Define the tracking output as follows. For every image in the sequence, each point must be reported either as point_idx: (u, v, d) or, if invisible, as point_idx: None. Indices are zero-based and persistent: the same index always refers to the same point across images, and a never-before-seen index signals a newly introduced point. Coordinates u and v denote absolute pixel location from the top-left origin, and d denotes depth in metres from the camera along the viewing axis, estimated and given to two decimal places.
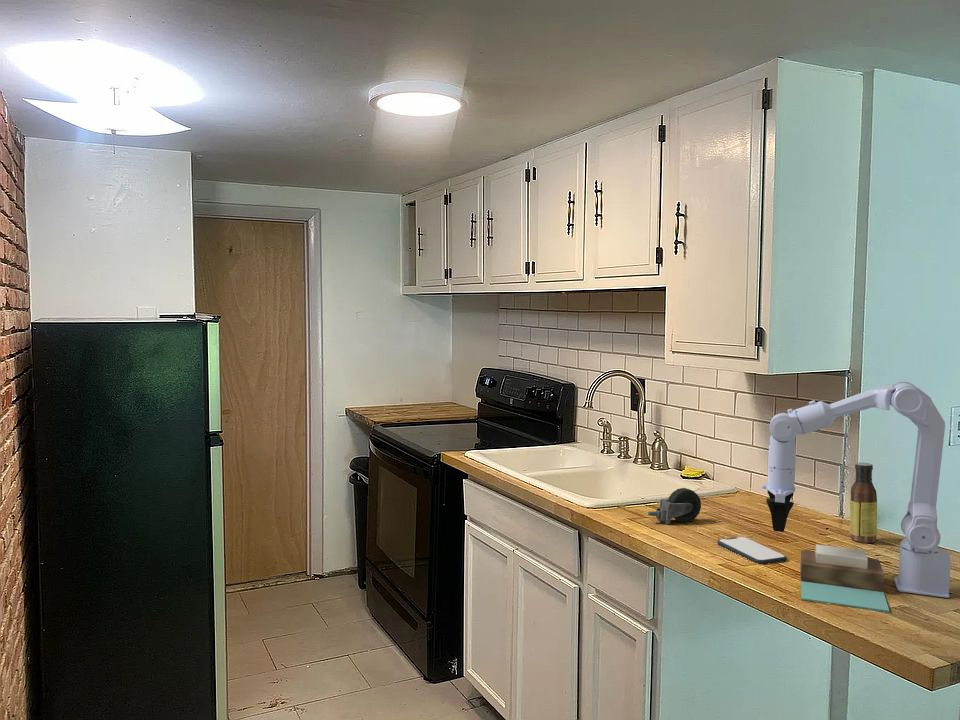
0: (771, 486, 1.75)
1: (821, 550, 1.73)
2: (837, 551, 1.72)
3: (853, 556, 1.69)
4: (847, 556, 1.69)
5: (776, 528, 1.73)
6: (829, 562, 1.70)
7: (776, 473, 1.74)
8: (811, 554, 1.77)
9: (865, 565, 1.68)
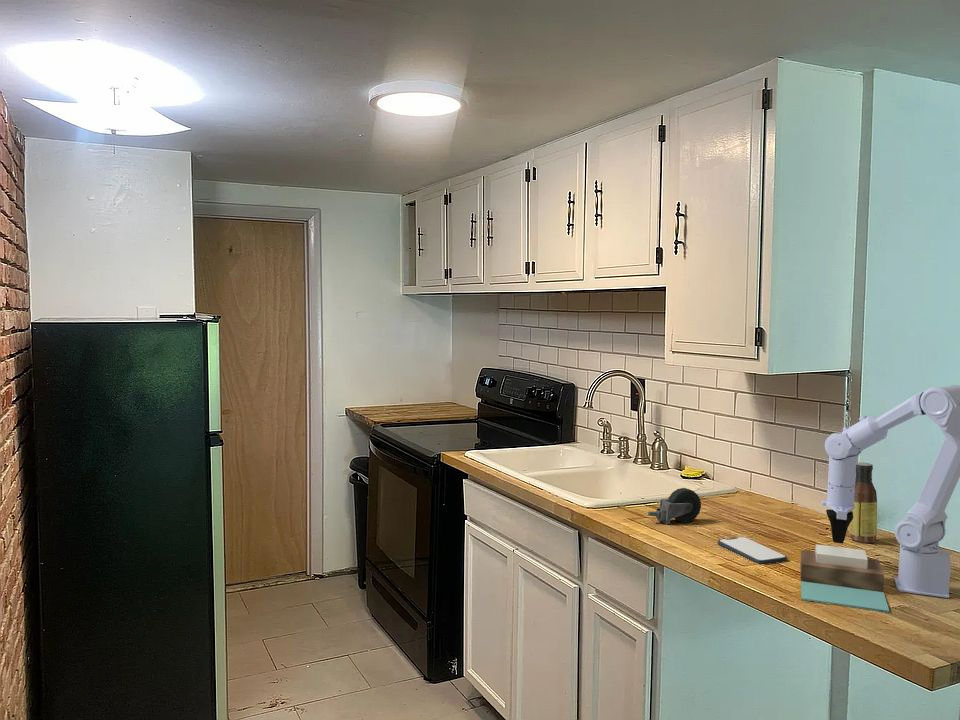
0: (831, 503, 1.80)
1: (821, 550, 1.73)
2: (837, 551, 1.72)
3: (853, 556, 1.69)
4: (847, 556, 1.69)
5: (836, 540, 1.81)
6: (829, 562, 1.70)
7: (837, 491, 1.79)
8: (811, 554, 1.77)
9: (865, 565, 1.68)
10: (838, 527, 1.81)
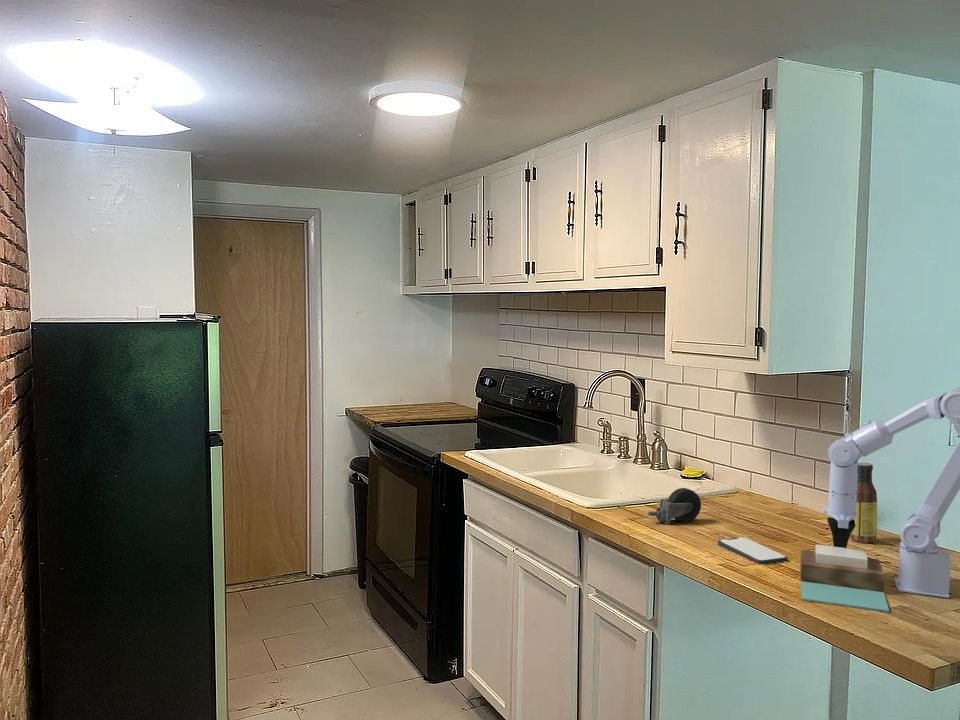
0: (832, 511, 1.75)
1: (821, 550, 1.73)
2: (837, 551, 1.72)
3: (853, 556, 1.69)
4: (847, 556, 1.69)
5: None
6: (829, 562, 1.70)
7: (838, 498, 1.74)
8: (811, 554, 1.77)
9: (865, 565, 1.68)
10: (840, 536, 1.76)
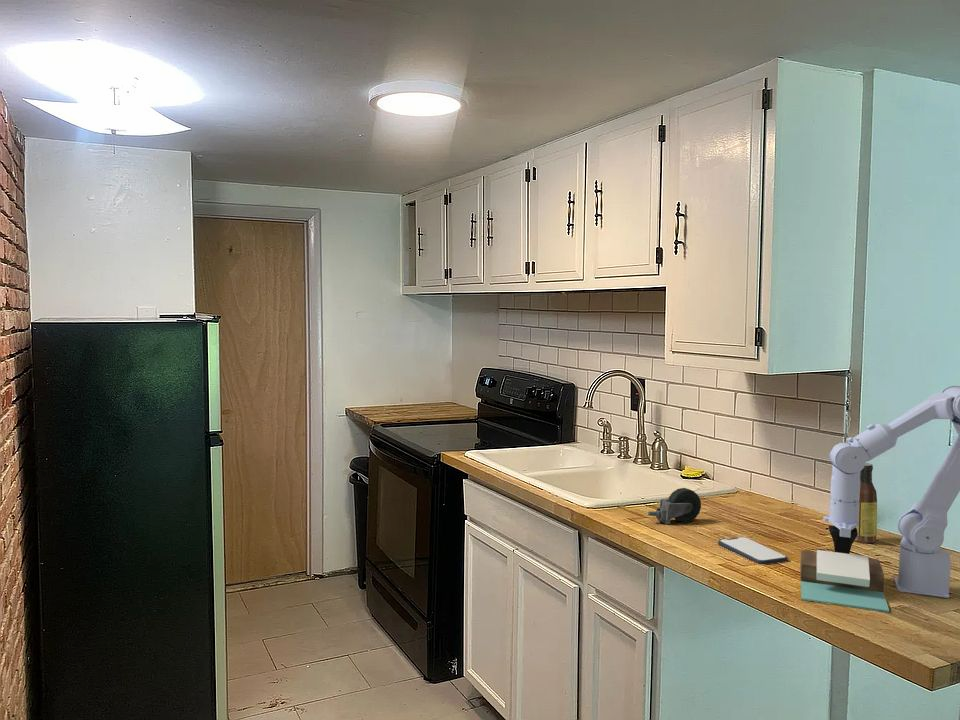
0: (834, 519, 1.68)
1: (822, 563, 1.67)
2: (839, 565, 1.66)
3: (855, 573, 1.63)
4: (848, 574, 1.63)
5: None
6: (830, 580, 1.64)
7: (840, 506, 1.67)
8: (811, 554, 1.77)
9: (867, 584, 1.62)
10: (841, 545, 1.69)
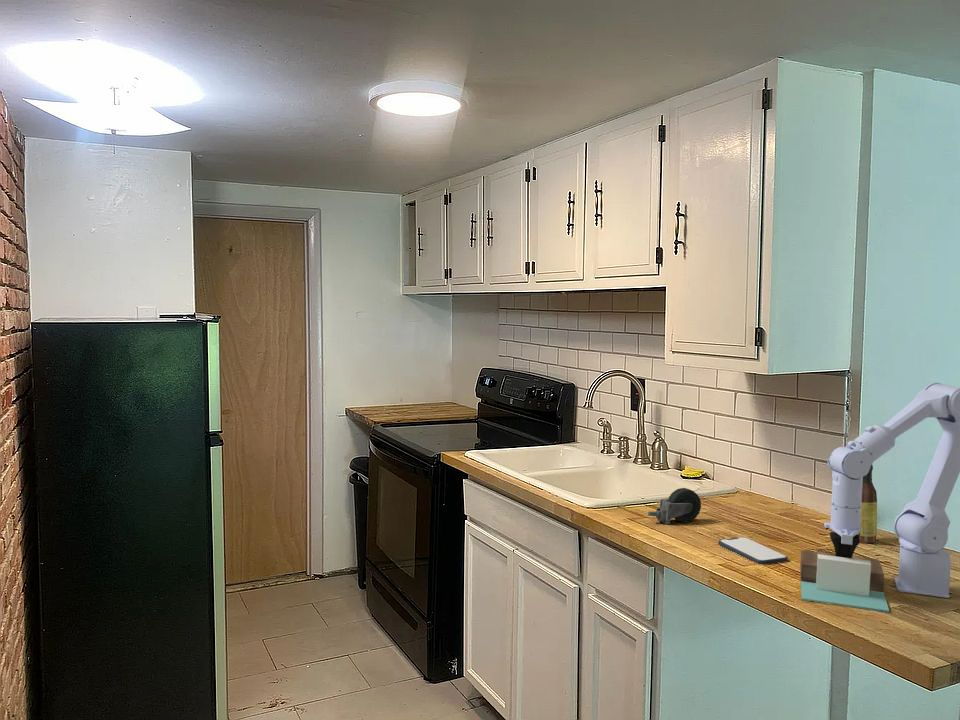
0: (835, 525, 1.63)
1: (822, 577, 1.64)
2: (839, 578, 1.63)
3: (854, 589, 1.62)
4: (848, 590, 1.63)
5: None
6: None
7: (841, 512, 1.62)
8: (811, 554, 1.77)
9: None
10: (843, 552, 1.64)
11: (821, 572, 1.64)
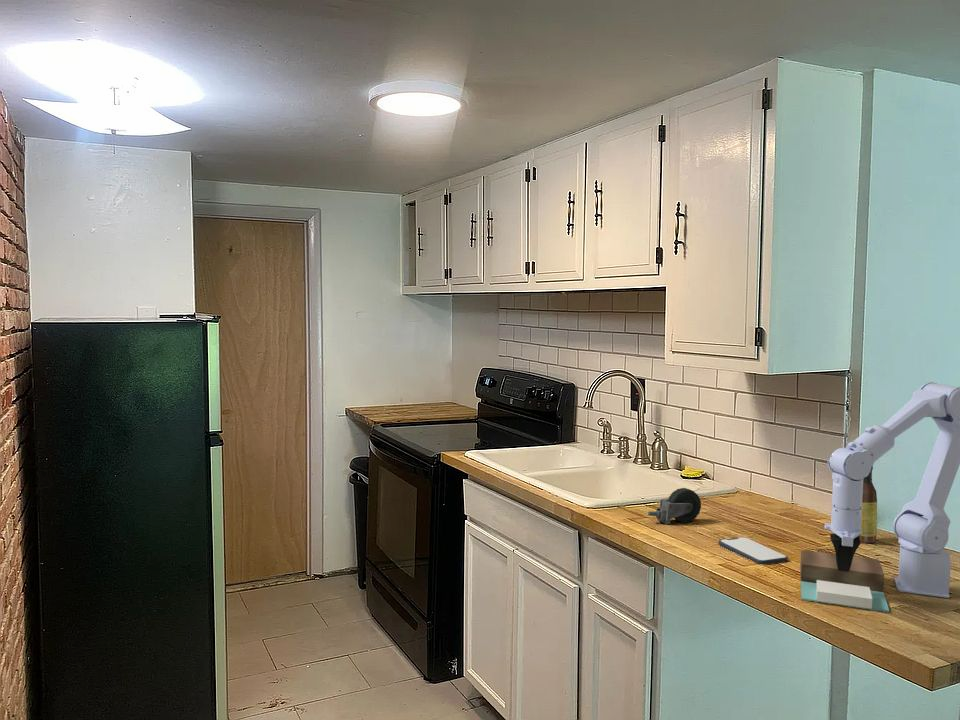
0: (836, 527, 1.62)
1: None
2: None
3: None
4: None
5: (841, 568, 1.64)
6: None
7: (842, 514, 1.61)
8: (811, 554, 1.77)
9: None
10: (843, 554, 1.63)
11: None
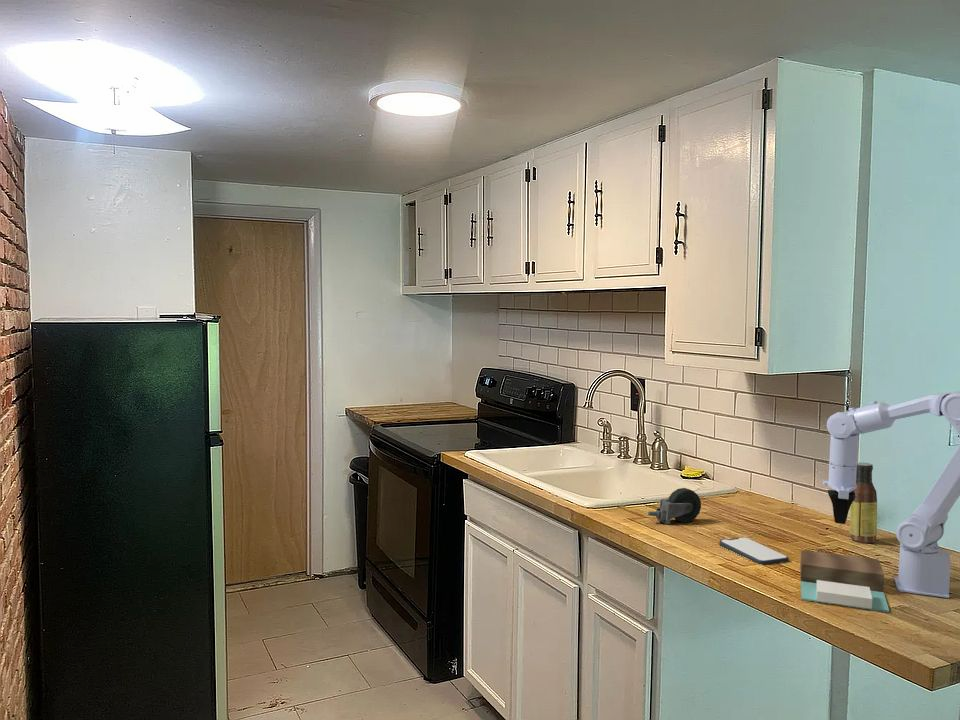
0: (833, 483, 1.77)
1: None
2: None
3: None
4: None
5: (838, 520, 1.79)
6: None
7: (838, 470, 1.76)
8: (811, 554, 1.77)
9: None
10: (840, 507, 1.79)
11: None
